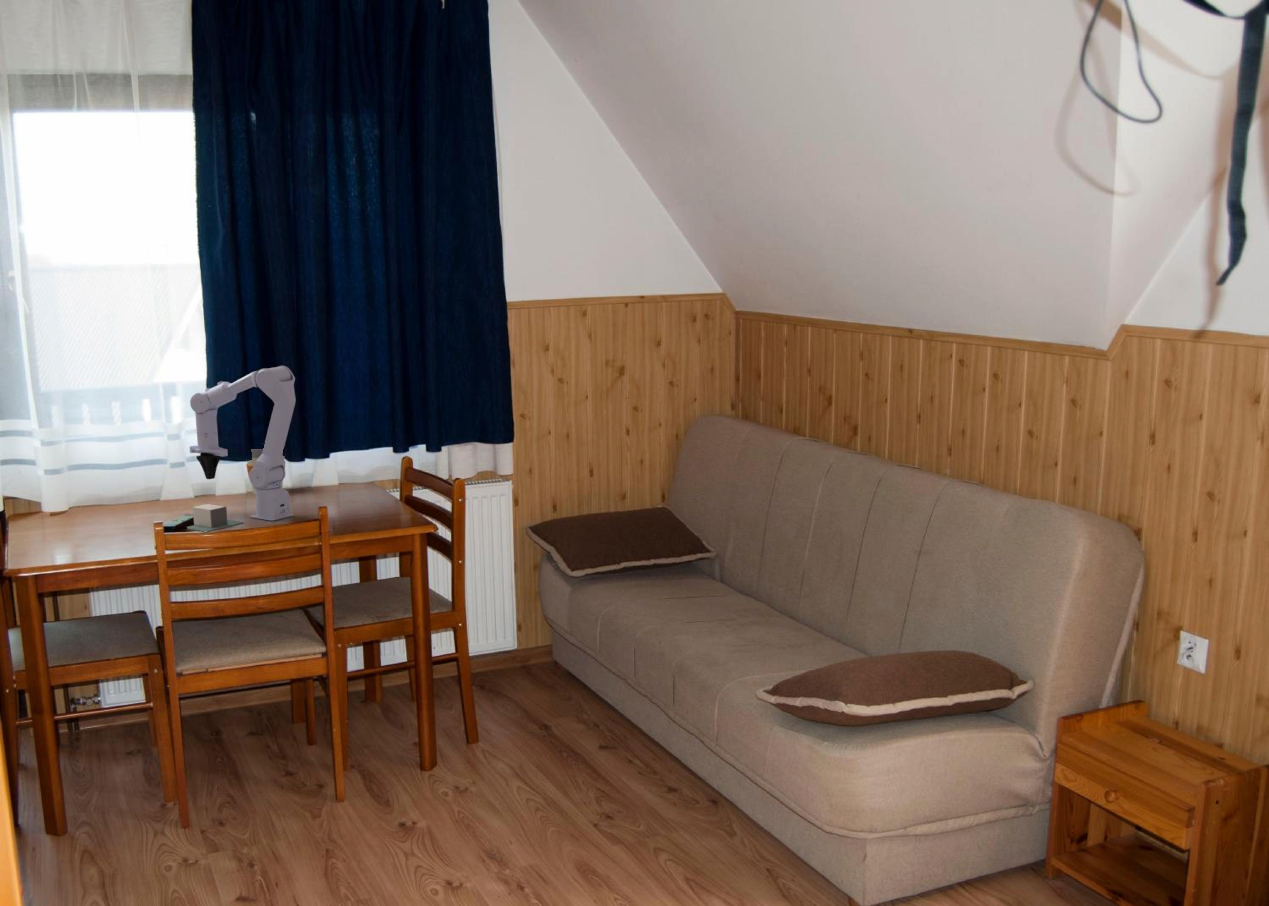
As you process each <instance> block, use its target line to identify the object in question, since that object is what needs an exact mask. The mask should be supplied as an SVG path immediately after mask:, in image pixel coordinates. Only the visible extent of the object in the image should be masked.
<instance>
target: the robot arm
mask: <svg viewBox="0 0 1269 906" xmlns="http://www.w3.org/2000/svg"><path fill="white" fill-rule="evenodd" d="M295 380H296V377H295V376H294V374H293V372H292V370H291V369H290V368H289V367H288V366H286V365H279V366H276V367H270V368H261V369H259V370H256V371H252V372H249V374H246V375H245V376H243V377H241V378H239V379H237V380H236V381H234V382H232V383H231V382H229V381H222V380H221V381H219V382H217V385H215V386H213V387H211V388H210V387H208V388H206V389H205V390H204V392H197V393H196V392H195V394H193V395H192V396H191V398H190V400H189V401H190V402H189V403H190V408H191V410H192V411H193V412H195V414H194V415H195V425H196V427H195V428H196V438H197V439H196V443H197V445H191V446H189V454H199V455H197V456H196V460H197V461H198V463H199V464H200V466H201V468H202V470H203V474H204V476H205V479H206V480H213V479H215V478H216V474H217V473H216V472H217V469H218V468H217V467H218V465H219V462H220V460H221V458H222V457H228V456H229V455H228V453H229V452H228V449H227V448H223V447H220V446H219V436H218V435H219V433H218V420H217V419H218V418H217V417H218V416H217V415H218V409H219V408H220V407H221V406H224V405H226V404H228V403H231V402H233V401H234V400H236V399H237V395H238V394H239V393H242V392H244V391H246V390H248V389H251V388H254V387H255V388H259V390H261V391H262V392H263V393H265V395H266V396H267V397H268V398H270V400H272V402H273V404H274V405H273V409H272V412H271V416H270V420H269V425H268V427H267V432H266V437H265V440H264V443H265V444H264V448H263V452H262V454H261V456H260V457H259V458H258V459H257V460H256V462H255V465H254V467H253V468H252V469H251V471H250V473H249V476H248V478H249V482H250V484H251V483H252V484H251V486H252V485H253V486H254V489H255V491H256V494H255V502H256V514H252V515H250V518H253V519H259V520H265V521H278V520H281V519H285V518H289V517H292V516H294V514H293V513H292V511H291V498H290V493H289V491H288V490H287V489H285V488H283V485H282V480H283V481H284V479H285V478H286V460H285V458H284V459H283V458H282V453H283V449H284V447H285V446H286V442H287V438H288V434H289V429H290V425H291V422H292V417H293V414H294V409H295V406H296V394H295V393H296V392H295V386H294V385H295ZM281 485H282V487H281Z"/></svg>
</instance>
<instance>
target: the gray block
mask: <svg viewBox="0 0 1269 906" xmlns="http://www.w3.org/2000/svg"><path fill="white" fill-rule="evenodd" d="M192 512H193V524H194V525H200V526H206V527H211V528H214V527H218V526H222V525H226V524H227V519H228V514H227V513H228V511H227V506H222V505H216V504H211V503H210V504H209V503H206V504H201V505H197V506H193V507H192Z"/></svg>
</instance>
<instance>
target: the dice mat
mask: <svg viewBox="0 0 1269 906" xmlns="http://www.w3.org/2000/svg"><path fill="white" fill-rule="evenodd" d="M244 523H245V522H244V521H239V520H233V519H228V518H227V524H226V525H222V526H218V527H214V528H211V527H206V526H200V525H189V526H186V527H187V529H186V530H190V531H195V532H200V531H210V532H213V531H217V530H221V529H225V528H230V527H233V526H234V527H235V526H239V525H242V524H244Z"/></svg>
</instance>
